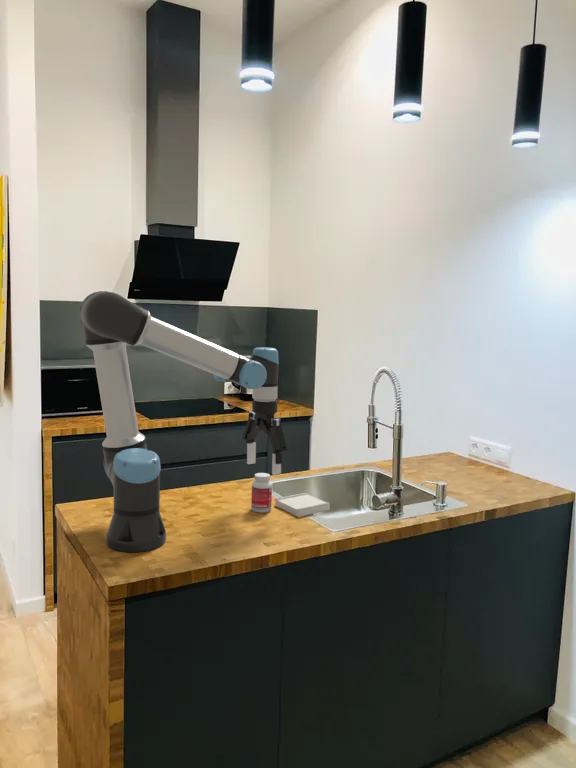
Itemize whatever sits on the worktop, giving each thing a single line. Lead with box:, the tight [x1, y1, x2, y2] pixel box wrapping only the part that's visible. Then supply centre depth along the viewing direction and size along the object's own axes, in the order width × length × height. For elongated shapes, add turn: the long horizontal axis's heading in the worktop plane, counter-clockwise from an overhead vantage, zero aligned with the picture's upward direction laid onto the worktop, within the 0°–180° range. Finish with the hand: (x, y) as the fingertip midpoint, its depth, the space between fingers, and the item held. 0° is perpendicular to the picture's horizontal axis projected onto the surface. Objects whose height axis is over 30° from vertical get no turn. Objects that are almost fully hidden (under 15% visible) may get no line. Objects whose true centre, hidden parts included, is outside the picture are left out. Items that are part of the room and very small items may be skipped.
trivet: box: [274, 492, 331, 518], centre depth 197 cm, size 12×12×2 cm
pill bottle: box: [250, 472, 273, 513], centre depth 193 cm, size 6×6×11 cm
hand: (263, 468), depth 192 cm, fingers open, 13 cm apart
